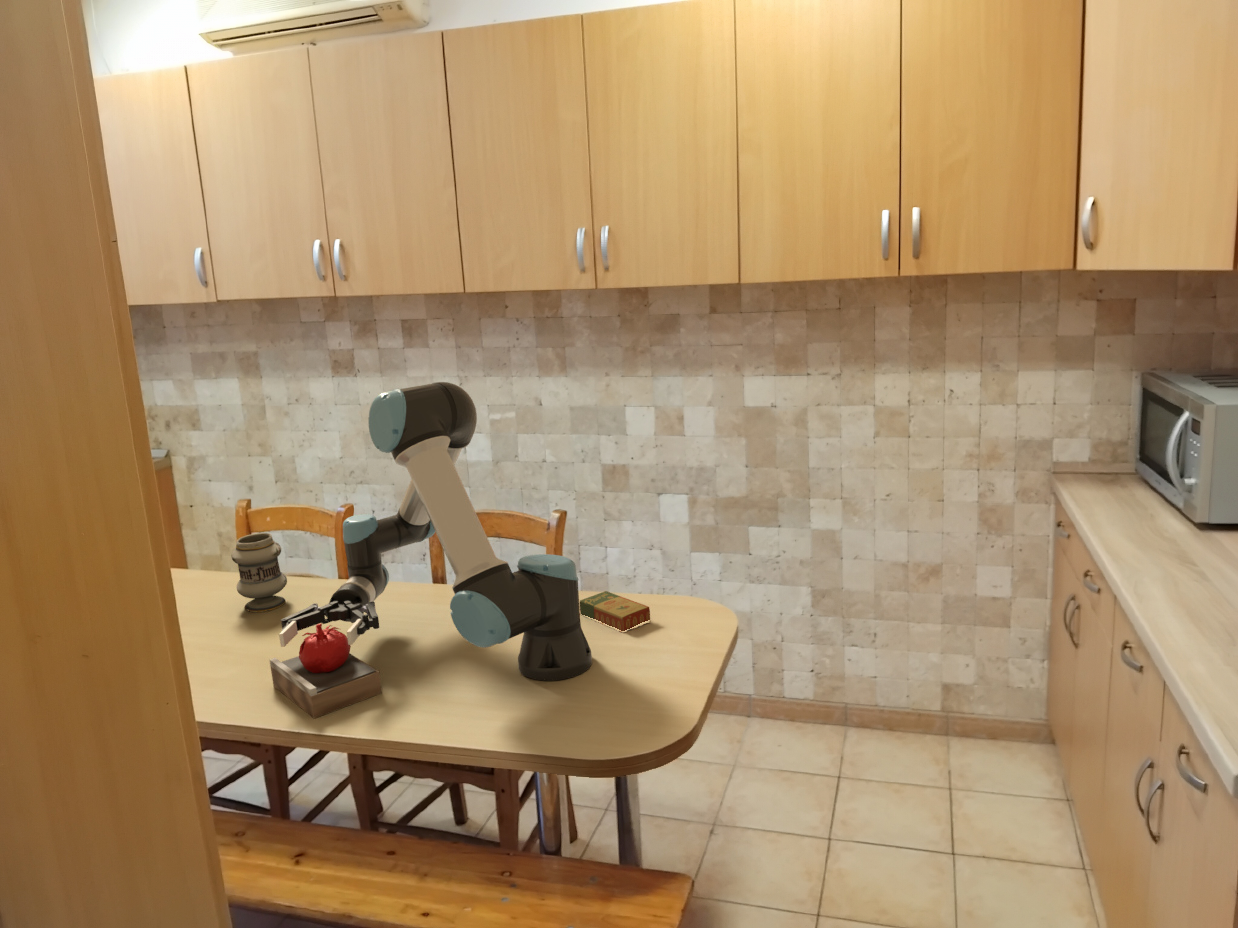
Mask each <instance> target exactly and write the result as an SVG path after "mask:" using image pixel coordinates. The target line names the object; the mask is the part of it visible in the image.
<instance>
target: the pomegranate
mask: <svg viewBox="0 0 1238 928" xmlns="http://www.w3.org/2000/svg"><path fill="white" fill-rule="evenodd" d="M322 627H323V624H322V623H319V624H316V625H315V630H316V632H309V631H308V632H305V633H304V634H303V635H301V636H302V637H304V636H306V635H308V636H306V637H305V638H304V639H303V641H302V642H301V644H300V646H299V651H298V656H299V659H300V661H301V663H302V665H303V666H304V668H305V669H306V670H308V671H310V672H312V673H327V672H331V671H334V670H335V669H337V668H339V667H340V666H341V665H343V664H344V662H345V661H346V660H347V658H348V656H349V653H350V652H351V647H352V646H351V645H348V638H347V634H346V635H345V633H343V632H341V631H338V630H340V628H338V627H335V626H332V625H327V626H326V627H325V628H324V629H323V628H322ZM330 627H331V628H330Z"/></svg>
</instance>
